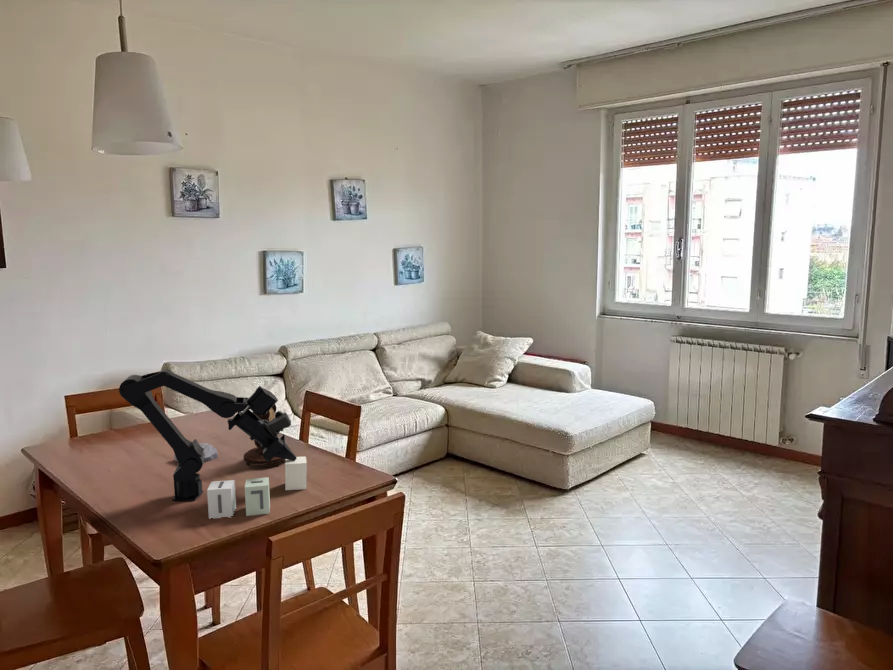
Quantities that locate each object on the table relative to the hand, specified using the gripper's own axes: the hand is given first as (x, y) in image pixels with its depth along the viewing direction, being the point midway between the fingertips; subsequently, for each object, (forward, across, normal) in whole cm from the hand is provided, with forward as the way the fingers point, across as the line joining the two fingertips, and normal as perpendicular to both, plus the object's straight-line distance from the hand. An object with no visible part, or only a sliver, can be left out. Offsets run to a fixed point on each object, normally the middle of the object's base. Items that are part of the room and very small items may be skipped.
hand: (295, 459), depth 190 cm
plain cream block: (+6, 0, +6) cm, 8 cm away
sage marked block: (-2, -15, +13) cm, 20 cm away
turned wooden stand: (-1, +25, +12) cm, 28 cm away
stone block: (-17, +33, +28) cm, 46 cm away
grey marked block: (-8, -14, +20) cm, 26 cm away
